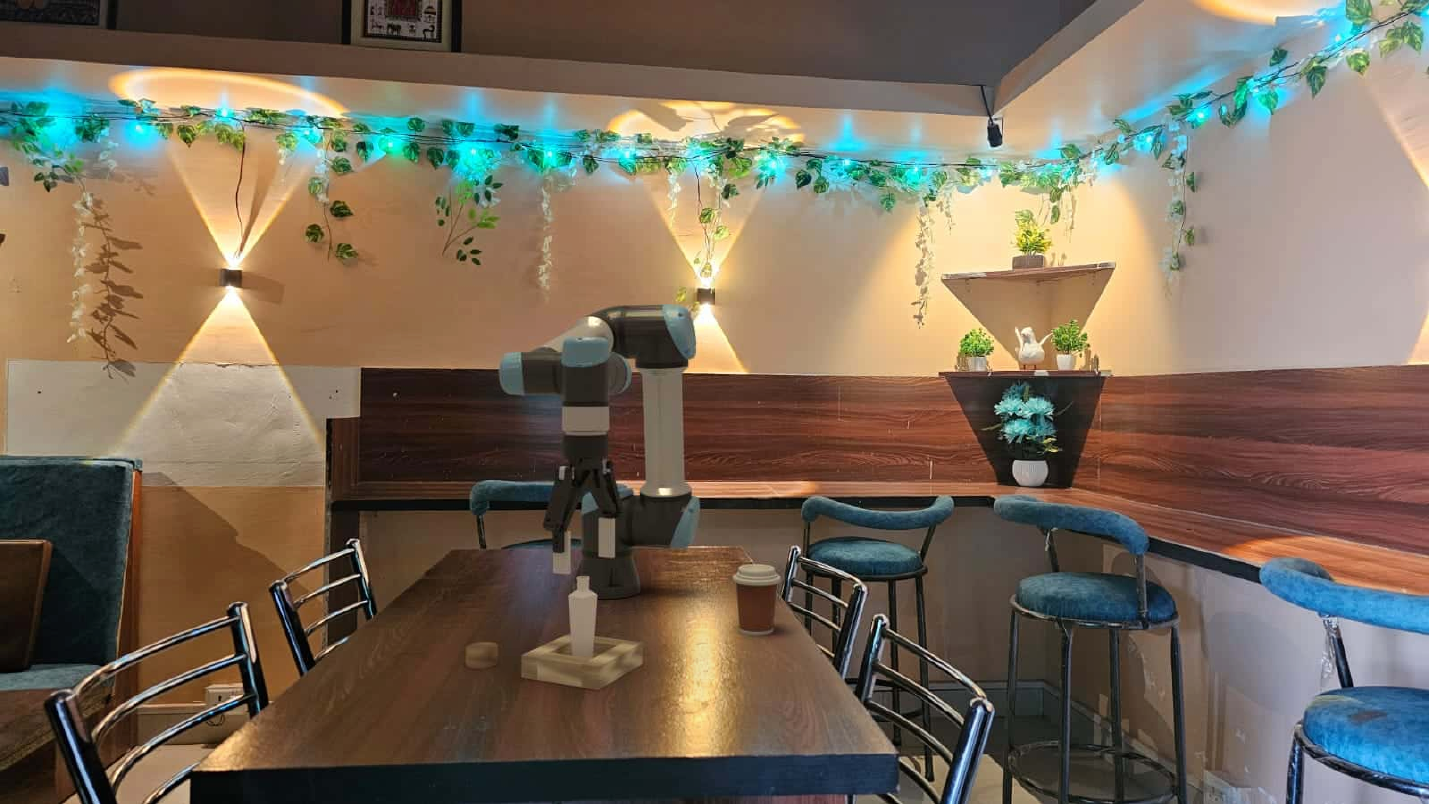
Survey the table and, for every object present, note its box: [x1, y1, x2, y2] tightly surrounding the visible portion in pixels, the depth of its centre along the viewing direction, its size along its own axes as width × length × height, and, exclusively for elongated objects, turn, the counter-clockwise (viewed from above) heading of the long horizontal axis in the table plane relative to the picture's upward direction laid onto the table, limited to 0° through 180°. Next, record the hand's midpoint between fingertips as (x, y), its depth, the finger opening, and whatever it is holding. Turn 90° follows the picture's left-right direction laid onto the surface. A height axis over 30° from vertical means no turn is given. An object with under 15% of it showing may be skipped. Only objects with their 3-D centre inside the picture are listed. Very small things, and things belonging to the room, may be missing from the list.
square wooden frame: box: [520, 632, 644, 691], centre depth 136 cm, size 14×14×4 cm
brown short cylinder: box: [465, 641, 499, 670], centre depth 139 cm, size 5×5×3 cm
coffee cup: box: [732, 563, 782, 636], centre depth 160 cm, size 9×9×12 cm
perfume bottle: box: [568, 576, 598, 659], centre depth 136 cm, size 5×4×15 cm
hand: (585, 565), depth 136 cm, fingers open, 13 cm apart
